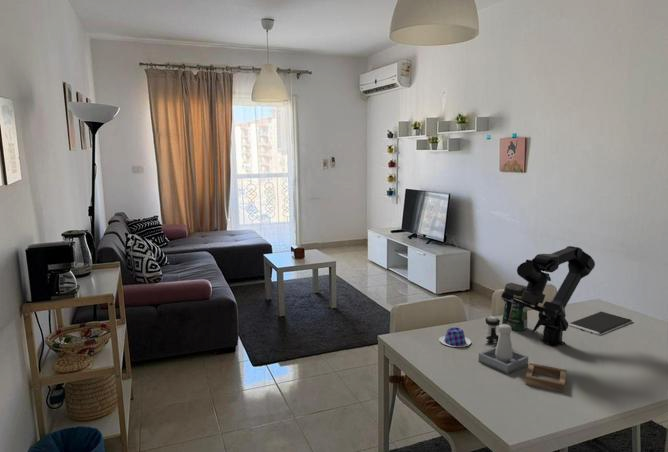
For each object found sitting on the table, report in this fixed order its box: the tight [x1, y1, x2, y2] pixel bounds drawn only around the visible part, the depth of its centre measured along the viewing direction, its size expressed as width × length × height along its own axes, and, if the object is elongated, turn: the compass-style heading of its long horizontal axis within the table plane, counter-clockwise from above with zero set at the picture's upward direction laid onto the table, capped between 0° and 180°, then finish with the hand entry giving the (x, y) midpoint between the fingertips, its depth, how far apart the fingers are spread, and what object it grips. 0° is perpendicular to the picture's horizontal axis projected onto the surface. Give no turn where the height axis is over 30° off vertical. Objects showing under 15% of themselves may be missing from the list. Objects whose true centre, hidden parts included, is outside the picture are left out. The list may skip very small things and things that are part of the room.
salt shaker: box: [495, 323, 513, 363], centre depth 159 cm, size 6×6×13 cm
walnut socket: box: [524, 362, 567, 393], centre depth 147 cm, size 11×11×2 cm
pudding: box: [438, 326, 472, 348], centre depth 178 cm, size 12×12×5 cm
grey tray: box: [478, 346, 529, 375], centre depth 160 cm, size 12×12×3 cm
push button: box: [483, 315, 501, 345], centre depth 177 cm, size 7×5×10 cm
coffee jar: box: [501, 282, 528, 331], centre depth 191 cm, size 10×8×19 cm
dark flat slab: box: [568, 311, 633, 336], centre depth 196 cm, size 13×27×2 cm, turn 122°
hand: (519, 327), depth 164 cm, fingers open, 9 cm apart
